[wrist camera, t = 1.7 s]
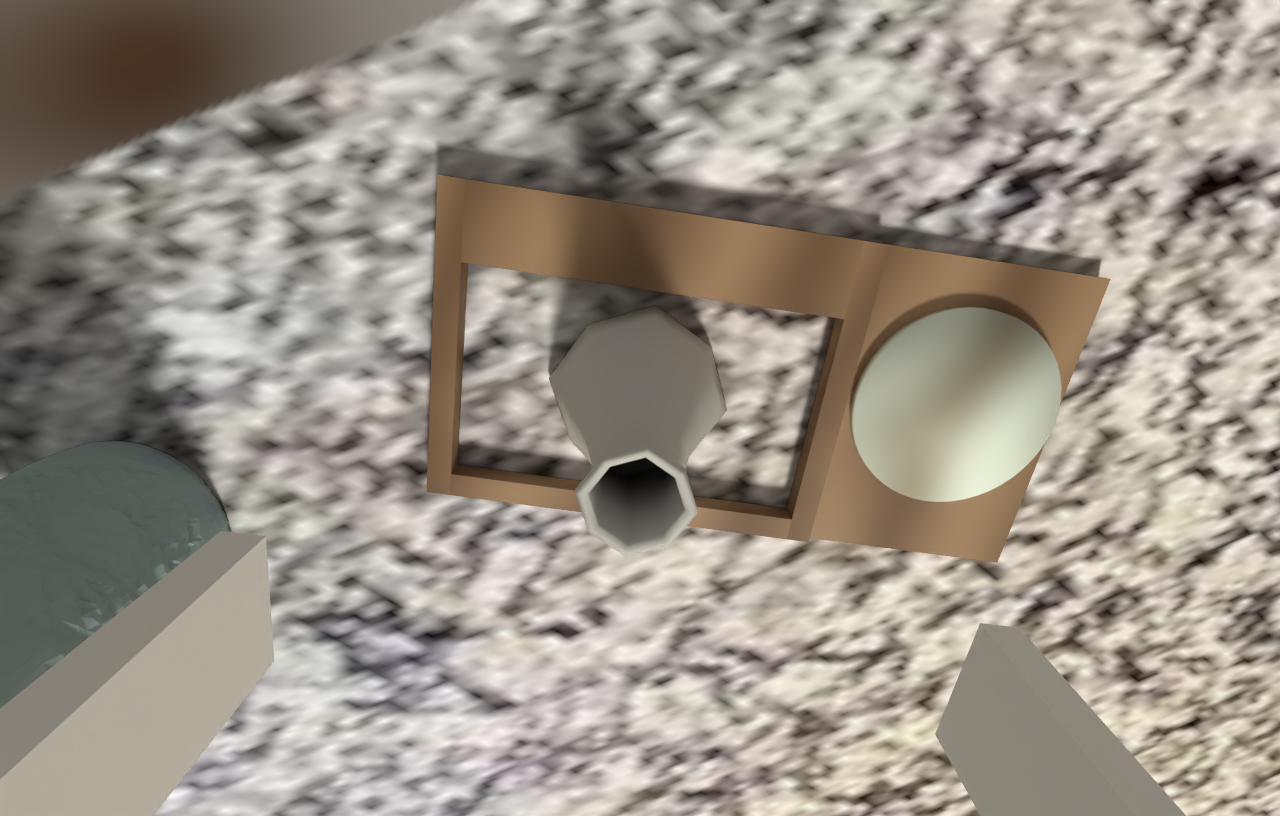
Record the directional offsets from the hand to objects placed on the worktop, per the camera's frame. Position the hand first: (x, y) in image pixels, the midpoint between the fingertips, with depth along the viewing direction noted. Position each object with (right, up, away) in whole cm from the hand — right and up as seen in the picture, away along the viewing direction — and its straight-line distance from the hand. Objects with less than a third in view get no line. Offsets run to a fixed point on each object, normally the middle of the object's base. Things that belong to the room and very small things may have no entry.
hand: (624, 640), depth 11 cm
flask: (0, +5, +15) cm, 16 cm away
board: (+5, +5, +14) cm, 16 cm away
